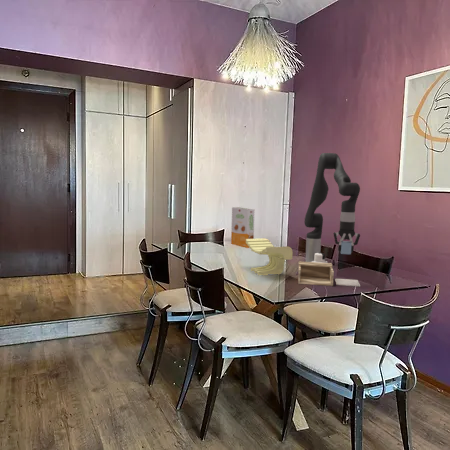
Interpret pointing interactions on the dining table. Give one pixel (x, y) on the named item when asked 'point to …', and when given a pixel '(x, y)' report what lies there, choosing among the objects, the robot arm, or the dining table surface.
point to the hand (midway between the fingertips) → (345, 252)
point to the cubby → (315, 273)
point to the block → (346, 247)
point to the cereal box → (242, 226)
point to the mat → (347, 282)
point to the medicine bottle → (319, 258)
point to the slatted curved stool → (270, 256)
